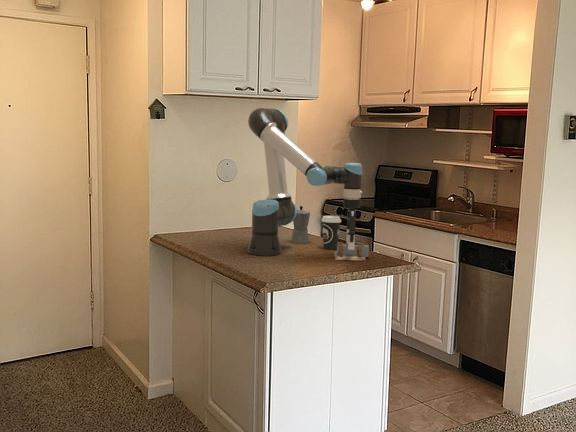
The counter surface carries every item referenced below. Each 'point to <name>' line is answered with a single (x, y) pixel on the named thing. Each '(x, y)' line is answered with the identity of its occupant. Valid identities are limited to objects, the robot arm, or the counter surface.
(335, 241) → the coffee cup
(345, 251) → the grey metal bar
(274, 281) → the counter surface
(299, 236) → the coffeepot
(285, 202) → the robot arm
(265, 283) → the counter surface
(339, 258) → the rack
